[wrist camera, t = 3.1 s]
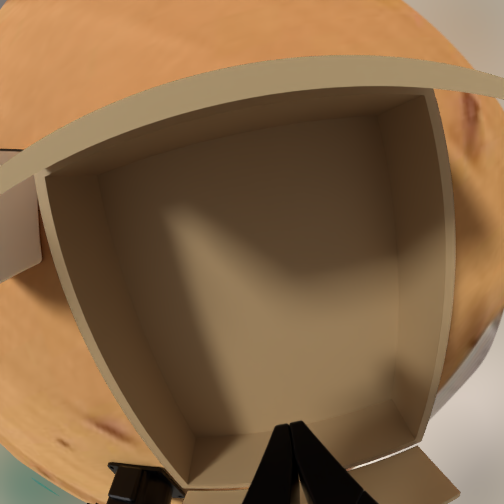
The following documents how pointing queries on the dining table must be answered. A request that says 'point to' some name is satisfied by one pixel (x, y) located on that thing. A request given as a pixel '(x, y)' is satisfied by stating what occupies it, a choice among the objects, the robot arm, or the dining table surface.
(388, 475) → the flap far
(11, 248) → the medicine bottle
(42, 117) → the dining table surface
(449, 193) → the carton
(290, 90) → the flap near
